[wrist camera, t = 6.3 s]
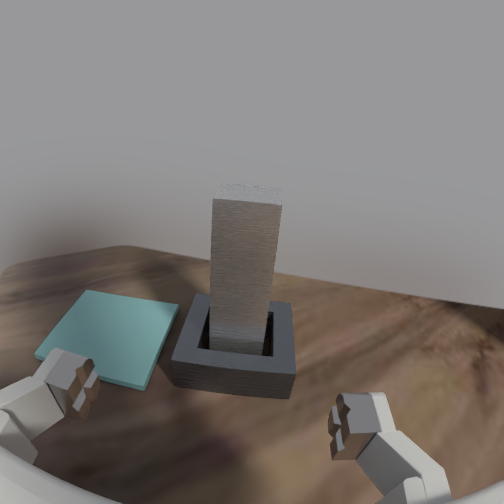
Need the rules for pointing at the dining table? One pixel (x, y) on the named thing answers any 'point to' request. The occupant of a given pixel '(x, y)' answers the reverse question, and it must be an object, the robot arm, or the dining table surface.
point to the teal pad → (114, 335)
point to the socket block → (235, 357)
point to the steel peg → (242, 265)
